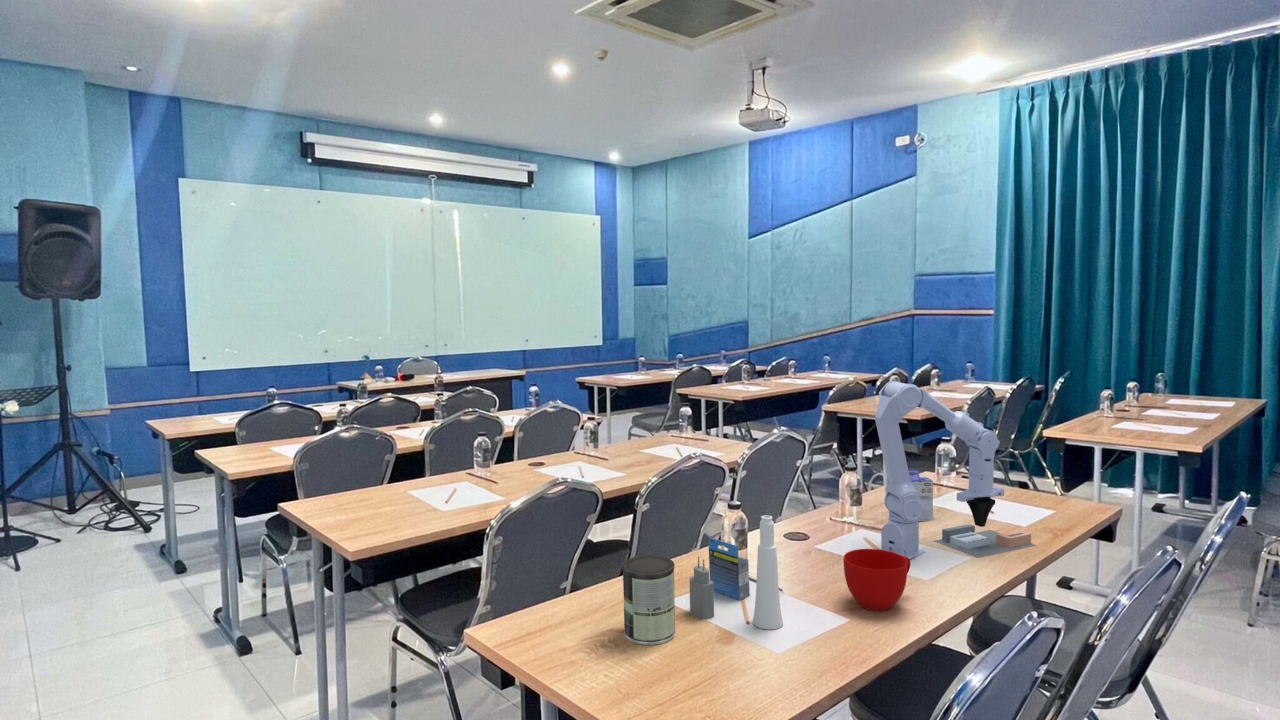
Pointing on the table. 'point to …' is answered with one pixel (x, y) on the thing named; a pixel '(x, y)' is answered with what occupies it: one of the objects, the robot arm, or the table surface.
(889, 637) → the table surface
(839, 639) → the table surface
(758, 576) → the cosmetic bottle
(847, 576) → the ceramic cup
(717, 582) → the label tape box
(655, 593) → the coffee can
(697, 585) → the power adapter
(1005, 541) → the stub
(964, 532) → the grey stepped housing
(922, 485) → the ink cartridge box
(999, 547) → the desk mat
